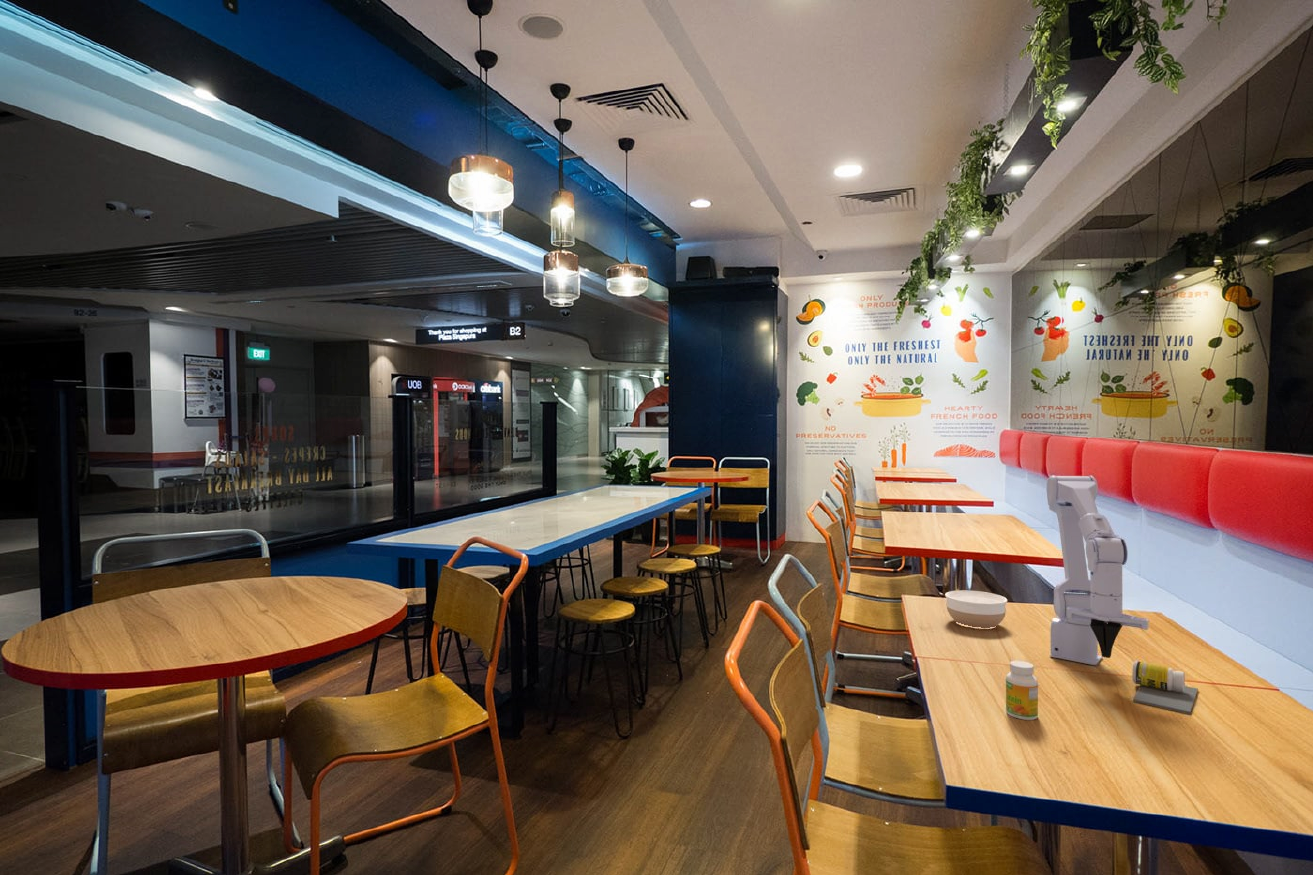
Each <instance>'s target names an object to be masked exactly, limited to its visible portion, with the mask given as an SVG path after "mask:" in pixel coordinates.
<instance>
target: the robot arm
mask: <svg viewBox="0 0 1313 875" xmlns="http://www.w3.org/2000/svg"><path fill="white" fill-rule="evenodd" d="M1046 482H1047V483H1046V497H1047V505H1048V507H1049V508H1048V509H1049V511H1052V512H1053V513H1055V514H1056V518H1057V522H1058V528H1059V534H1060V536H1059V538H1060V546H1061V552H1062V554H1061V555H1062V560H1063V570H1064V577H1065V578H1064V579H1063V581H1061V582H1059V583H1058V584H1056V586H1055V587H1054V590H1053V610H1054V613H1055V616H1056V617H1053V618H1052V620H1051V623H1050V654H1049V657H1050V658H1054V659H1055V658H1056V659H1061V660H1065V661H1070V662H1076V663H1081V664H1086V665H1090V666H1097V665H1098V664H1099V662H1100V661H1101V660H1102V659H1103V658H1107V659H1110V658H1111V657H1112V650H1113V646H1114V643H1115V641H1116V638H1117V637H1118V635H1119V632H1120V631H1121V630H1122V627H1123V626H1125V627H1130V628H1136V629H1137V628H1138V629H1141V630H1144V631H1148V629H1149V628H1150V627H1149V621H1150V620H1149V619H1148V618H1144V617H1138V616H1135V615H1129V614H1126V613H1125V614H1124V613H1123V566H1125V565H1126V564H1127V562H1128V554H1129V553H1128V546H1127V543H1126V541H1125V539H1124V538H1123V537H1120V536H1119V535H1117V534H1115V532H1114V530H1113V529H1112V527H1111V524H1110V522H1109V521H1108V518H1107V517H1106V515H1103V514H1101V513H1099V511H1098V508H1097V504H1096V499H1097V496H1098V493H1099V488H1098V487H1099V484H1098V481H1097V479H1096V478H1095V477H1094V476H1093V475H1088V476H1087V475H1085V476H1083V475H1050V476H1049V477H1048V478H1047V481H1046ZM1084 541H1085V543H1084ZM1088 571H1090V572H1088ZM1089 573H1090V578H1089ZM1098 645H1099V647H1098ZM1098 648H1099V649H1100V653H1101V654H1098V650H1099V649H1098Z"/></svg>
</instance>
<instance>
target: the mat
mask: <svg viewBox="0 0 1313 875" xmlns="http://www.w3.org/2000/svg"><path fill="white" fill-rule="evenodd" d="M1198 690H1199V689H1198V688H1197V687H1191V686H1187V685H1185V689H1184V692H1180V691H1175V689H1172V690H1171V691H1167V690H1162V689H1158V688H1153V687H1148V686H1143V685H1140V686H1139V687H1138V689H1137V691H1136V693H1135V694H1134V696H1133V698H1132V703H1133V702H1134V703H1136V704H1141V705H1146V706H1150V707H1151V706H1152V707H1155V708H1160V709H1165V710H1169V711H1173V712H1178V713H1182V714H1187V715H1191V713H1192V710H1193V707H1194V704H1195V701H1196V699H1197V695H1198V692H1199V691H1198Z"/></svg>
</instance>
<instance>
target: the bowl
mask: <svg viewBox="0 0 1313 875" xmlns="http://www.w3.org/2000/svg"><path fill="white" fill-rule="evenodd" d="M944 596H945V598H946V609H947V610H946V611H947V613H948V614H949V616H950V617H951V618H952V620H954V622H955V621H956V622H958V623H961V624H964V625H968V626H972V627H981V628H990V627H995V626H997V627H998V625H1000V623H1002V622H1003V620H1004V618H1005V617H1006V612H1007V607H1006V605H1007V603H1008V599H1007V598H1006V597H1005V596H1004V595H1003V596H1002V595H1000V594H997V593H992V592H986V591H981V590H967V589H965V590H962V589H960V590H950V591H948V592H945V594H944Z"/></svg>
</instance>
